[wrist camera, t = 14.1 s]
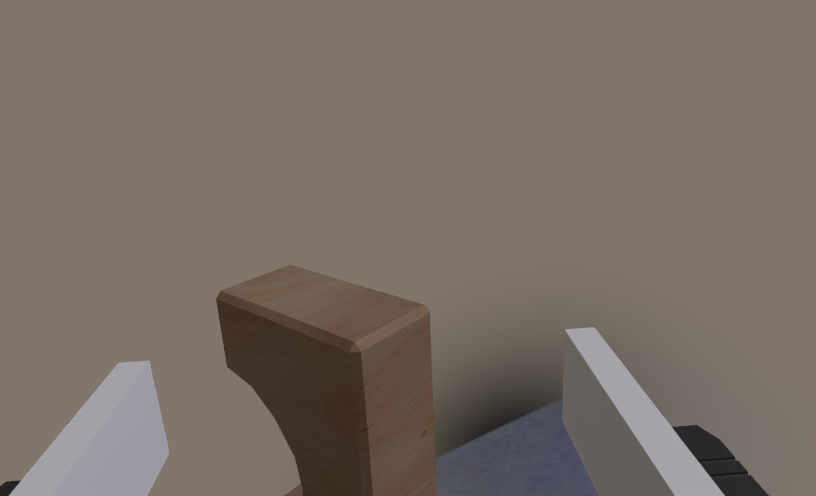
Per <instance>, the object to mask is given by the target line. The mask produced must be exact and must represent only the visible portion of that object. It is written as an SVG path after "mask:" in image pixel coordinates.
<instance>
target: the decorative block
mask: <svg viewBox="0 0 816 496" xmlns="http://www.w3.org/2000/svg"><path fill="white" fill-rule="evenodd" d="M216 301H217V307H218V313H219V320H220V326H221V332H222V338H223V344H224V350H225V356H226V363H227V367H228V368H229V369H231V370H232V371H233V372H234V373H236V374H237V375H238V376H239V377H241V378H242V379H243V380H244V381H246V382H247V383H248V384H249V385H251V386H252V388H253V389H254V390H255V392H256V393H257V395H258V396H259V397H260V399H261V400H262V401H263V403H264V404H265V406H266V407H267V408H268V410H269V411H270V412H271V413H272V415H273V416H274V418H275V420H276V421H277V423H278V425H279V427H280V429H281V431H282V433H283V435H284V437H285V439H286V441H287V443H288V445H289V447H290V449H291V450H292V452H293V454H294V456H295V459H296V463H297V468H298V472H299V476H300V480H301V484H300V485H299V486H297V487H296V488H294V489H293V490H292V491H290V492H289V493H287V494H286V495H285V496H437V488H436V463H435V440H434V416H433V392H432V365H431V338H430V313H429V309H428V308H427V307H426V306H424V305H422V304H419V303H416V302H412V301H409V300H406V299H402V298H398V297H396V296H392V295H389V294H385V293H382V292H379V291H375V290H372V289H369V288H365V287H362V286H358V285H355V284H351V283H348V282H345V281H342V280H338V279H335V278H332V277H329V276H325V275H322V274H319V273H315V272H312V271H309V270H306V269H302V268H299V267H295V266H292V265H288V266H286V267H283V268H281V269H278V270H275V271H272V272H270V273H267V274H264V275H262V276H259V277H256V278H254V279H251V280H248V281H246V282H243V283H240V284H238V285H235V286H232V287H229V288H227V289H224V290H221V292H220V293H219V295H218V297H217V298H216Z"/></svg>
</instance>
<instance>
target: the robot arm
mask: <svg viewBox="0 0 816 496" xmlns="http://www.w3.org/2000/svg"><path fill="white" fill-rule="evenodd" d="M563 379H564V380H563V419H562V422H563V424H564V426H565V428H566V430H567V432H568V434H569V436H570V438H571V440H572V442H573V444H574V446H575V448H576V450H577V452H578V454H579V456H580V458H581V460H582V462H583V464H584V467H585V469H586V471H587V473H588V475H589V477H590V479H591V481H592V483H593V485H594V487H595V489H596V491H597V493H598V495H599V496H768V494H767V493H766V492H765V491H764V490H763V489H762V488H761V486H760V485H759V484H758V483H757V482H756V481H755V480H754V479H753V477H752V476H751V475H748V472H747V470H746V469H745V468H744V467H743V466H742V465H741V464H740V462H739V461H736V460H735V457H734V455H733V454H732V453H731V452H730V451H729V450H728V449H727V448H726V446H725V445H724V444H723V443H722V442H721V441H720V439H718V438H716V437H715V436H713V435H711V434H710V433H708V432H707V431H705V430H703V429H702V428H700V427H699V426H697V425H692V426H679V427H671V426H670V424H669V423H668V422H667V421H666V419H665V418H664V417H663V416H662V414H661V413H660V412H659V410H658V409H657V408H656V406H655V405H654V404H653V402H652V401H651V400H650V399H649V397H648V396H647V395H646V394H645V392H644V391H643V390H642V389H641V387H640V386H639V384H638V383H637V382H636V381H635V379H634V378H633V377H632V376H631V374H630V373H629V372H628V370H627V369H626V368H625V366H624V365H623V364H622V362H621V361H620V360H619V359H618V357H617V356H616V355H615V354H614V352H613V351H612V350H611V348H610V347H609V346H608V344H607V343H606V342H605V341H604V339H603V338H602V337H601V336H600V334H599V333H598V331H597V330H596V329H595V328H594V327H592V328H579V329H566V330H565V339H564V378H563ZM168 455H169V449H168V444H167V440H166V435H165V430H164V427H163V421H162V417H161V412H160V408H159V403H158V399H157V394H156V390H155V385H154V380H153V376H152V371H151V366H150V362H149V361H139V362H126V363H118V364H117V366H116V367H115V368H114V369H113V371H112V372H111V373H110V374H109V375H108V377H107V378H106V379H105V380H104V381H103V382H102V384H101V385H100V386H99V387H98V388H97V390H96V391H95V392H94V393H93V395H92V396H91V397H90V398H89V399H88V401H87V402H86V403H85V404H84V405H83V407H82V408H81V409H80V410H79V411H78V413H77V414H76V415H75V416H74V417H73V419H72V420H71V421H70V422H69V424H68V425H67V426H66V427H65V428H64V430H63V431H62V432H61V433H60V435H59V436H58V437H57V438H56V439H55V441H54V442H53V443H52V444H51V445H50V447H49V448H48V449H47V450H46V451H45V453H44V454H43V455H42V456H41V457H40V459H39V460H38V461H37V462H36V463H35V465H34V466H33V467H32V468H31V469H30V471H29V472H28V473H27V474H26V475H25V477H24V478H23V479H22V480H21V481H11V482H10V481H9V482H5V483H4V484H3V485H1V486H0V496H147V495H148V493H149V491H150V489H151V487H152V485H153V483H154V482H155V479H156V478H157V476H158V474H159V472H160V470H161V468H162V466H163V464H164V462H165V460H166V458H167V456H168Z"/></svg>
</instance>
